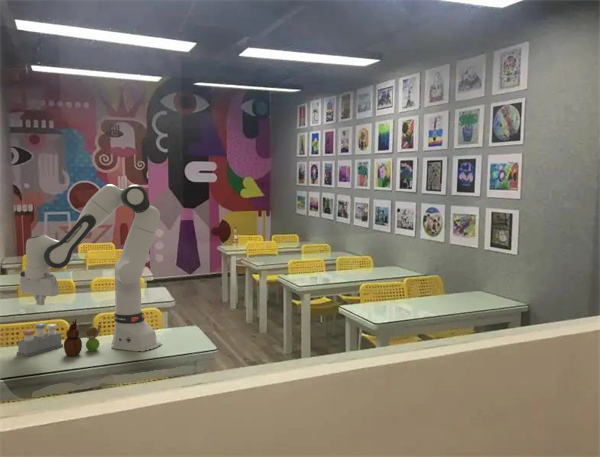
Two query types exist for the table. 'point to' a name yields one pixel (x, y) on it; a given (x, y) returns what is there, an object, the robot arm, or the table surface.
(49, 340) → the socket board
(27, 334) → the terracotta plug
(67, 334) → the wooden figurine
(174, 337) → the table surface
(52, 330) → the cream plug
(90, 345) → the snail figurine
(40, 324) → the slate plug
